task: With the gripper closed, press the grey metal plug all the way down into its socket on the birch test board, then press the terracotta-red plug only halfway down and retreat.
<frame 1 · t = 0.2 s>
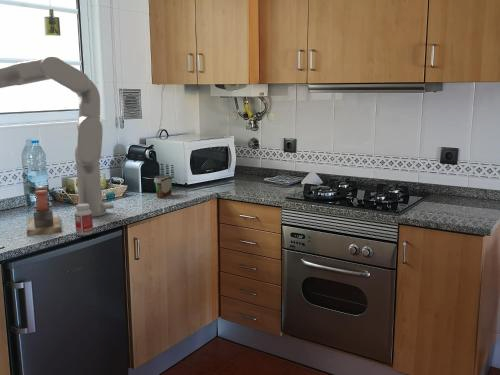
food container: (161, 196, 267), on the worktop
red plug: (42, 202, 203), point 11 cm above the worktop, slide at 0.0 cm
grey plug: (42, 197, 213), point 11 cm above the worktop, slide at 0.0 cm
pill bottle: (84, 234, 200), on the worktop
test board: (44, 227, 210), on the worktop
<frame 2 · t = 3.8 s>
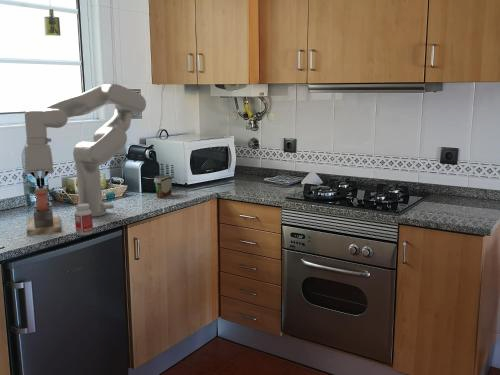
hand: (40, 187, 212), 15 cm above the worktop, tool pointing down, fingers closed
grey plug: (42, 198, 213), point 10 cm above the worktop, slide at 0.5 cm, touching gripper
everything else where it was.
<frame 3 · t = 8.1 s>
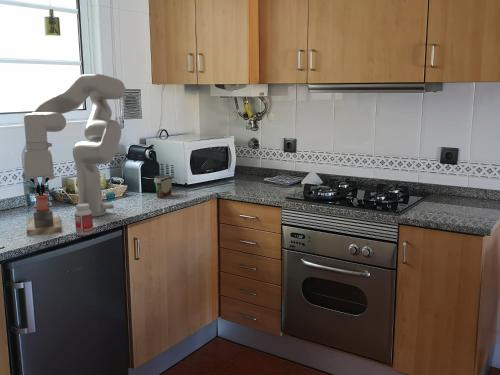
hand: (41, 195, 202), 14 cm above the worktop, tool pointing down, fingers closed
red plug: (42, 206, 203), point 9 cm above the worktop, slide at 1.4 cm, touching gripper
grey plug: (43, 206, 214), point 7 cm above the worktop, slide at 3.8 cm
everything else where it was.
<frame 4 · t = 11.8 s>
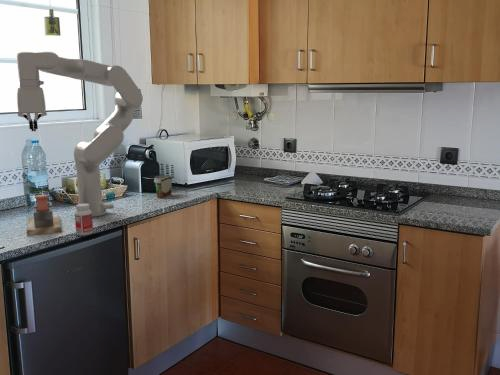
hand: (33, 131, 212), 37 cm above the worktop, tool pointing down, fingers closed
red plug: (42, 207, 204), point 9 cm above the worktop, slide at 1.8 cm
everything else where it was.
at the end: grey plug slide at 3.8 cm; red plug slide at 1.8 cm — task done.
